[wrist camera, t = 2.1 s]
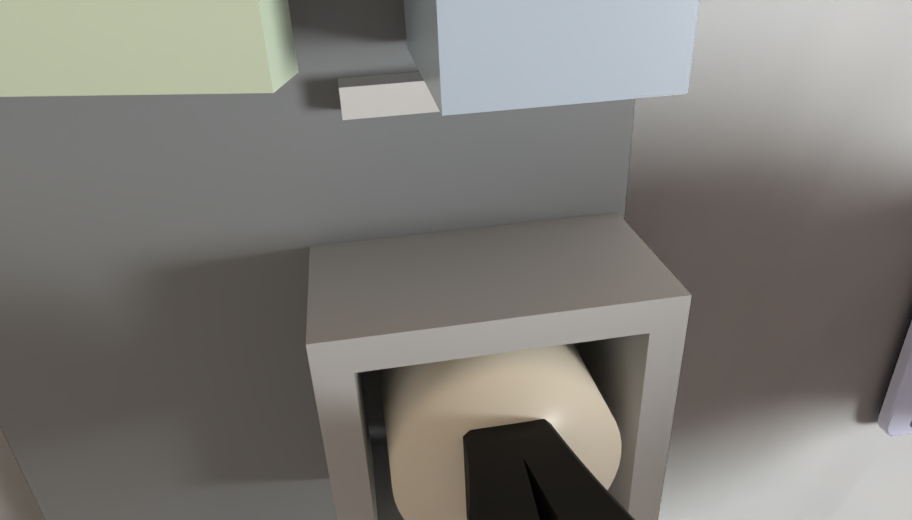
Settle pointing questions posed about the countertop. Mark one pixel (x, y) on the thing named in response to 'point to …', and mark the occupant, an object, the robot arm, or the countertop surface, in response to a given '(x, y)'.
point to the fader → (549, 51)
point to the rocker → (144, 47)
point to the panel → (306, 280)
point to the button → (486, 419)
